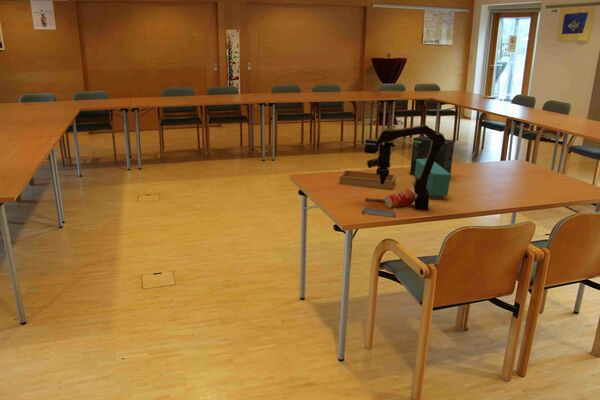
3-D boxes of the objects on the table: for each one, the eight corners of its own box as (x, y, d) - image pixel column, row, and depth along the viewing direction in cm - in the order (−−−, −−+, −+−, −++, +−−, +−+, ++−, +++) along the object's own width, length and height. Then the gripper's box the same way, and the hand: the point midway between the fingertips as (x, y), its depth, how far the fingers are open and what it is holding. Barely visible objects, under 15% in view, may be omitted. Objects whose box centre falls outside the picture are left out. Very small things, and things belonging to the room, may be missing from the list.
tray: (339, 184, 301) (339, 175, 300) (344, 178, 315) (344, 169, 314) (392, 190, 294) (393, 181, 292) (394, 184, 308) (395, 174, 306)
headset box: (408, 174, 328) (413, 134, 320) (418, 171, 337) (422, 132, 329) (441, 182, 314) (447, 140, 306) (450, 178, 323) (455, 137, 315)
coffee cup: (384, 191, 264) (406, 185, 271) (383, 206, 268) (405, 200, 275) (394, 197, 258) (417, 191, 264) (393, 212, 261) (416, 205, 268)
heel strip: (395, 203, 271) (396, 200, 270) (395, 204, 269) (396, 201, 269) (365, 200, 273) (365, 197, 273) (365, 201, 272) (365, 198, 272)
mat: (395, 211, 259) (396, 208, 258) (395, 217, 250) (396, 213, 250) (363, 208, 261) (363, 204, 261) (361, 214, 253) (361, 210, 252)
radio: (449, 200, 279) (453, 174, 274) (430, 200, 278) (433, 173, 274) (430, 183, 311) (433, 158, 307) (413, 182, 310) (415, 158, 306)
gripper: (369, 149, 270) (367, 178, 275) (367, 157, 253) (364, 187, 257) (391, 151, 268) (388, 180, 273) (390, 159, 251) (387, 189, 255)
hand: (381, 184), depth 265 cm, fingers closed
